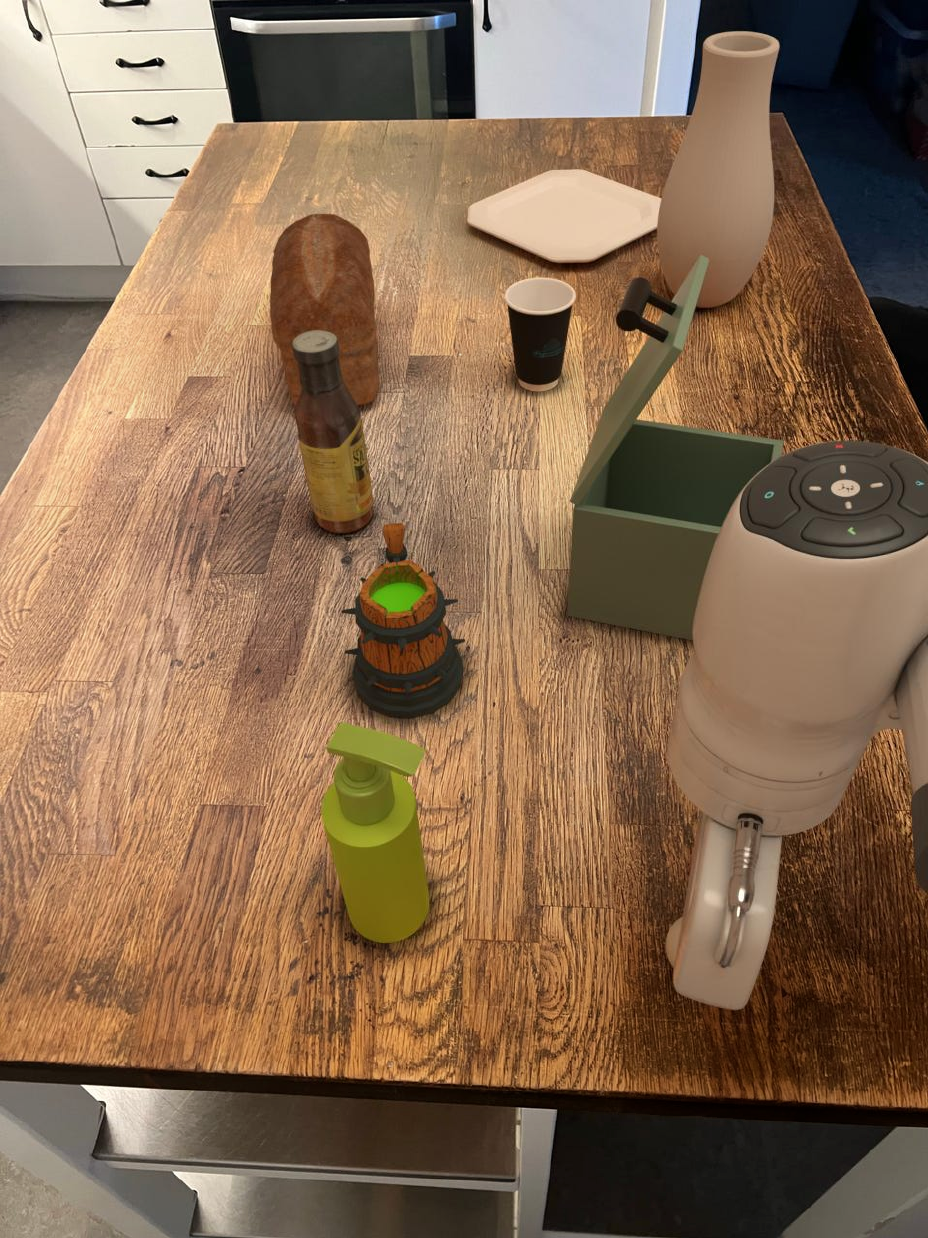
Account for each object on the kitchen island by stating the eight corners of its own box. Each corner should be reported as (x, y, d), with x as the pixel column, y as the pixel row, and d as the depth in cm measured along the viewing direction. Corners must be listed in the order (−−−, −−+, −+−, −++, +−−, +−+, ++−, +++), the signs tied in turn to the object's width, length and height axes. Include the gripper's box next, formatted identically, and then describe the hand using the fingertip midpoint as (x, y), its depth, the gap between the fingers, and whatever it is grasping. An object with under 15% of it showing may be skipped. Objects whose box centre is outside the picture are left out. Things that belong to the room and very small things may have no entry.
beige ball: (731, 941, 66) (742, 911, 63) (723, 1002, 63) (734, 974, 60) (667, 923, 67) (675, 893, 64) (657, 983, 64) (664, 955, 61)
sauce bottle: (378, 532, 97) (354, 357, 82) (316, 540, 96) (281, 366, 82) (372, 491, 101) (348, 319, 87) (312, 499, 101) (278, 328, 86)
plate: (565, 176, 154) (565, 161, 153) (688, 222, 141) (690, 207, 140) (450, 227, 143) (449, 212, 142) (572, 282, 130) (573, 266, 129)
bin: (757, 548, 93) (784, 440, 84) (741, 650, 84) (769, 541, 75) (598, 521, 97) (607, 414, 87) (567, 616, 88) (573, 508, 78)
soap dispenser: (424, 959, 66) (398, 799, 52) (334, 928, 68) (284, 765, 53) (454, 885, 70) (438, 717, 55) (368, 857, 72) (330, 687, 57)
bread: (284, 426, 110) (259, 311, 100) (287, 305, 129) (267, 197, 119) (388, 415, 111) (375, 300, 100) (376, 296, 130) (363, 189, 119)
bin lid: (709, 258, 74) (655, 229, 74) (683, 350, 66) (621, 317, 65) (611, 412, 87) (564, 387, 87) (577, 506, 78) (525, 479, 78)
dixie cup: (550, 406, 111) (553, 319, 103) (492, 387, 114) (490, 301, 106) (583, 373, 115) (588, 287, 107) (526, 355, 118) (527, 270, 110)
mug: (472, 714, 80) (467, 620, 72) (350, 726, 80) (331, 633, 72) (458, 604, 89) (452, 508, 81) (349, 614, 89) (331, 520, 81)
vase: (768, 284, 128) (821, 29, 106) (738, 333, 120) (788, 68, 98) (669, 264, 133) (700, 16, 111) (634, 311, 124) (659, 53, 103)
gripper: (814, 954, 40) (751, 1069, 50) (838, 610, 53) (784, 756, 63) (662, 913, 41) (630, 1033, 51) (722, 588, 54) (687, 734, 64)
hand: (715, 878), depth 57 cm, fingers open, 8 cm apart
